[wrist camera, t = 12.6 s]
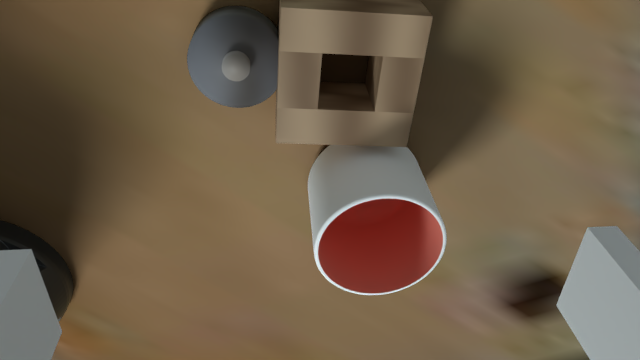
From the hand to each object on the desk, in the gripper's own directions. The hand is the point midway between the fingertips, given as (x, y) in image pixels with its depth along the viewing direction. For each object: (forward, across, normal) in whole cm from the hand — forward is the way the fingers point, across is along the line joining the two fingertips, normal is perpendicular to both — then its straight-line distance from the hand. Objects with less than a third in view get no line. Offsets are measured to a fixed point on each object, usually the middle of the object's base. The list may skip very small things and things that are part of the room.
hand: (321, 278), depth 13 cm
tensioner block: (+29, +5, -6) cm, 30 cm away
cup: (+30, +7, -17) cm, 35 cm away
